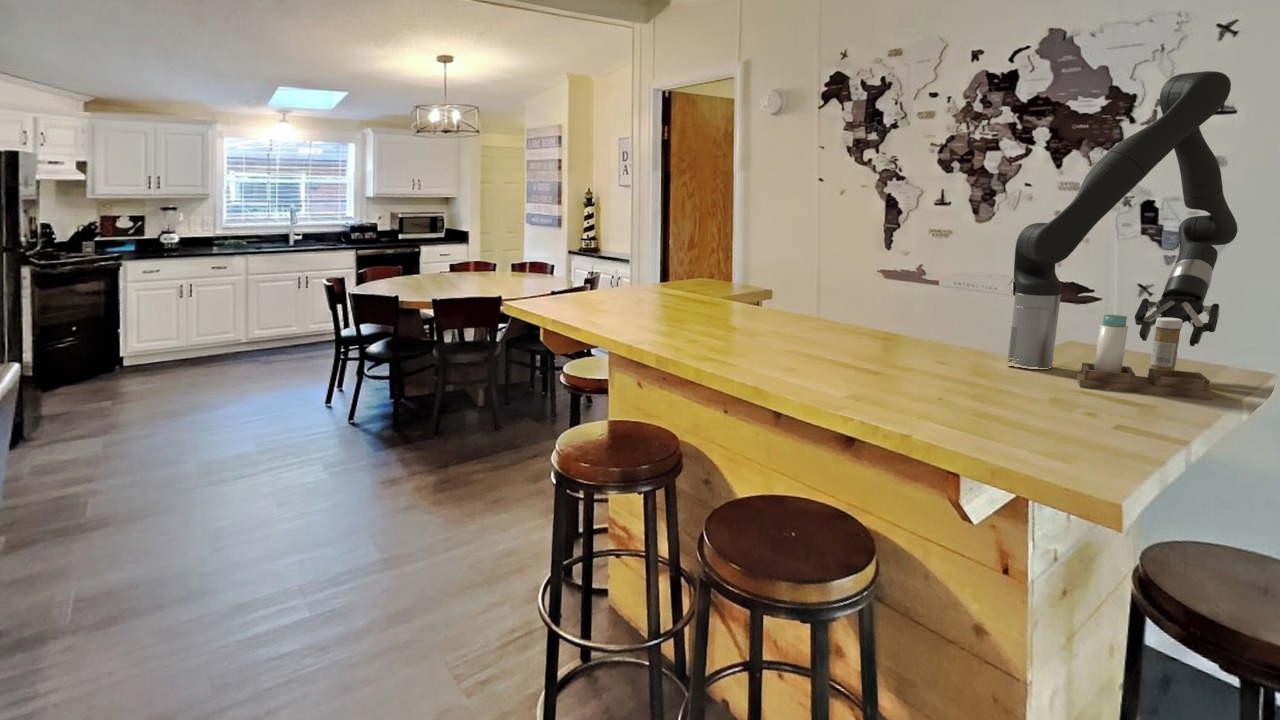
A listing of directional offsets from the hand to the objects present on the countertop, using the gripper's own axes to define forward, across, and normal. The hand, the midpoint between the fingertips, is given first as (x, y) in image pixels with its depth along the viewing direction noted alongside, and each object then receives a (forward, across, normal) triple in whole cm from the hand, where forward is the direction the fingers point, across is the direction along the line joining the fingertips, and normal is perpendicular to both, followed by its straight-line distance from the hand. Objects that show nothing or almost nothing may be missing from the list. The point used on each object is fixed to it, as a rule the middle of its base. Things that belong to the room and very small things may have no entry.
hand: (1167, 341), depth 152 cm
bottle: (+15, -7, -6) cm, 18 cm away
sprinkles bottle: (+7, 0, +5) cm, 9 cm away
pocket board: (+15, -1, -3) cm, 16 cm away
